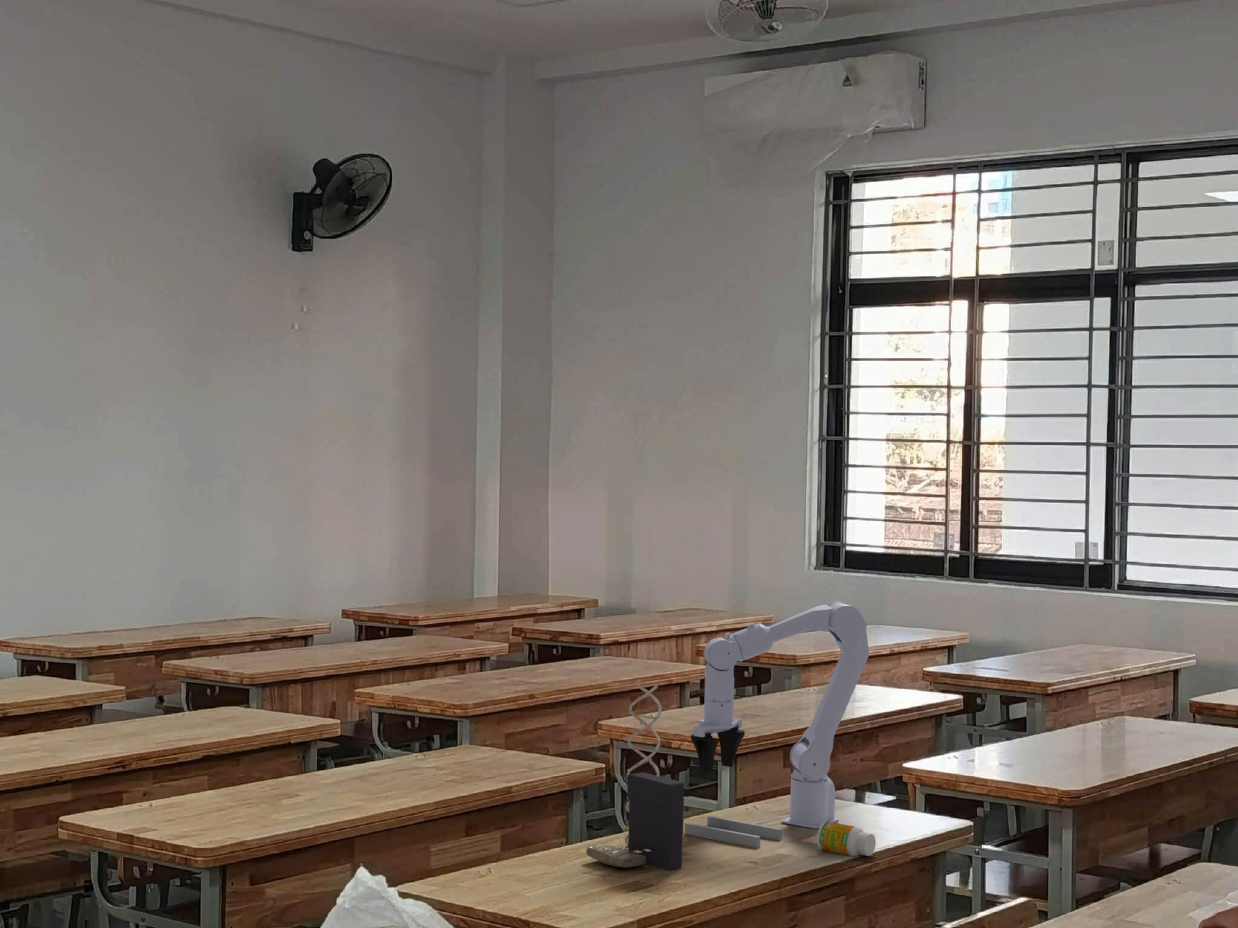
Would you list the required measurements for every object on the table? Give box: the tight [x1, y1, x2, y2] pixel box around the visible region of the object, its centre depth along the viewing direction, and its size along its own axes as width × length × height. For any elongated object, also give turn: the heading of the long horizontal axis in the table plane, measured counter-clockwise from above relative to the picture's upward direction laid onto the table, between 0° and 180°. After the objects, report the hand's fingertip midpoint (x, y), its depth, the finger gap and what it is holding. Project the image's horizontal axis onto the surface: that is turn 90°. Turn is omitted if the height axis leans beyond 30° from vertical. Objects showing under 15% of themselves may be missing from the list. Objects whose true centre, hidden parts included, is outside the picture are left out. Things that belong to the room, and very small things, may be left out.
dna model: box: [624, 681, 663, 846], centre depth 283 cm, size 7×6×30 cm
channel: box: [684, 815, 783, 848], centre depth 294 cm, size 9×16×2 cm, turn 54°
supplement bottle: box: [816, 821, 877, 857], centre depth 283 cm, size 5×5×10 cm
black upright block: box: [626, 771, 685, 872], centre depth 273 cm, size 11×4×15 cm, turn 42°
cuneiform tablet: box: [586, 844, 656, 868], centre depth 270 cm, size 6×4×12 cm
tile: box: [801, 834, 818, 845], centre depth 292 cm, size 10×10×1 cm
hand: (717, 768), depth 306 cm, fingers open, 7 cm apart
